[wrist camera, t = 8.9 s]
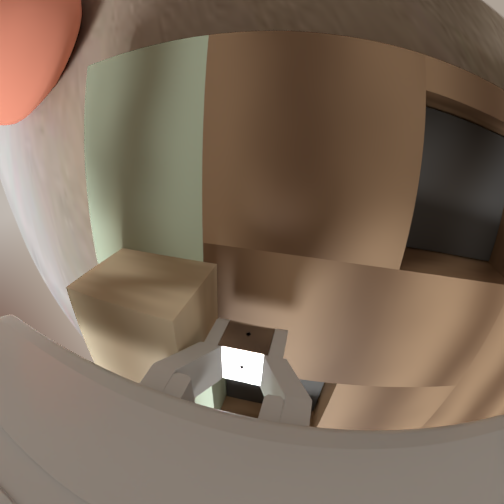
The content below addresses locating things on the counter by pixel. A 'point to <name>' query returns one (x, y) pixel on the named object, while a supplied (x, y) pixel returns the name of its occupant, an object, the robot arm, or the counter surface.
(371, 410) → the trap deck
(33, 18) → the sugar bowl
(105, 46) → the counter surface
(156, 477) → the robot arm
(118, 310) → the birch block
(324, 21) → the counter surface
